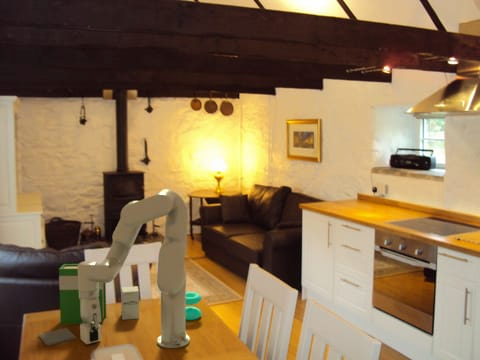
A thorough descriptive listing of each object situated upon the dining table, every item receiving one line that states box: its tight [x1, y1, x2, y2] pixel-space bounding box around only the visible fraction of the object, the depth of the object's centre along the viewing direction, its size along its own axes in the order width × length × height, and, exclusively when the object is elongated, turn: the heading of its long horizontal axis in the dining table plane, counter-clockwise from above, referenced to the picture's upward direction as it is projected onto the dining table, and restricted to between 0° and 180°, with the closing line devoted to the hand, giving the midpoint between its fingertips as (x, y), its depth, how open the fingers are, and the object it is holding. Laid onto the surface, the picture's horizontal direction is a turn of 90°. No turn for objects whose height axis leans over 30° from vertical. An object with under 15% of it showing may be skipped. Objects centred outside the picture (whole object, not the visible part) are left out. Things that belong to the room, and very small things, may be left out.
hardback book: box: [58, 263, 107, 325], centre depth 216 cm, size 18×7×24 cm, turn 94°
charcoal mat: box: [38, 327, 77, 347], centre depth 199 cm, size 11×11×1 cm
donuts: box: [185, 291, 202, 321], centre depth 222 cm, size 10×10×10 cm
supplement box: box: [120, 285, 140, 321], centre depth 221 cm, size 7×7×13 cm
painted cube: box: [79, 321, 102, 345], centre depth 196 cm, size 6×6×6 cm
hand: (90, 337), depth 196 cm, fingers closed on painted cube, 6 cm apart
